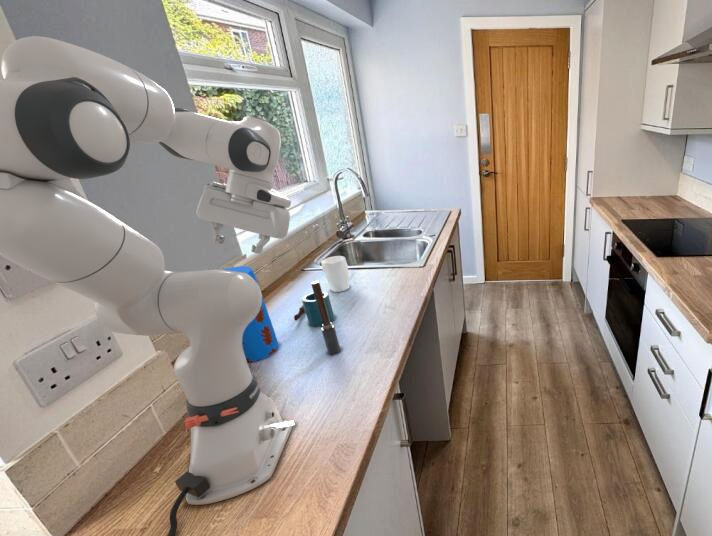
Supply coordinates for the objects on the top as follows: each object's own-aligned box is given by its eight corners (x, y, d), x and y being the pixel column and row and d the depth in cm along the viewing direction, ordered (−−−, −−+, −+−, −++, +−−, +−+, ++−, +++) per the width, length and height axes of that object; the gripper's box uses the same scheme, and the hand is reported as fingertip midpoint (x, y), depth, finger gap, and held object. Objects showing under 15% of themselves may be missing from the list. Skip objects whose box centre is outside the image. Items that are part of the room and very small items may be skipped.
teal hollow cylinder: (334, 323, 132) (327, 298, 129) (308, 328, 130) (301, 303, 126) (334, 312, 139) (328, 289, 135) (309, 317, 137) (302, 294, 133)
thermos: (260, 363, 113) (229, 282, 102) (228, 360, 115) (195, 280, 105) (287, 342, 123) (261, 266, 112) (257, 340, 125) (229, 265, 114)
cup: (343, 282, 163) (337, 254, 158) (357, 286, 158) (350, 258, 153) (323, 290, 157) (315, 261, 152) (336, 295, 152) (329, 266, 147)
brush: (340, 352, 116) (321, 283, 107) (328, 355, 115) (307, 286, 106) (340, 346, 119) (322, 278, 110) (328, 349, 118) (308, 281, 109)
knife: (308, 300, 149) (306, 293, 148) (313, 299, 149) (311, 292, 148) (294, 324, 133) (291, 316, 132) (299, 324, 133) (296, 316, 132)
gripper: (195, 176, 91) (184, 236, 92) (282, 198, 91) (269, 258, 92) (216, 182, 98) (205, 237, 99) (297, 203, 97) (285, 258, 98)
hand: (237, 247), depth 95 cm, fingers open, 8 cm apart
